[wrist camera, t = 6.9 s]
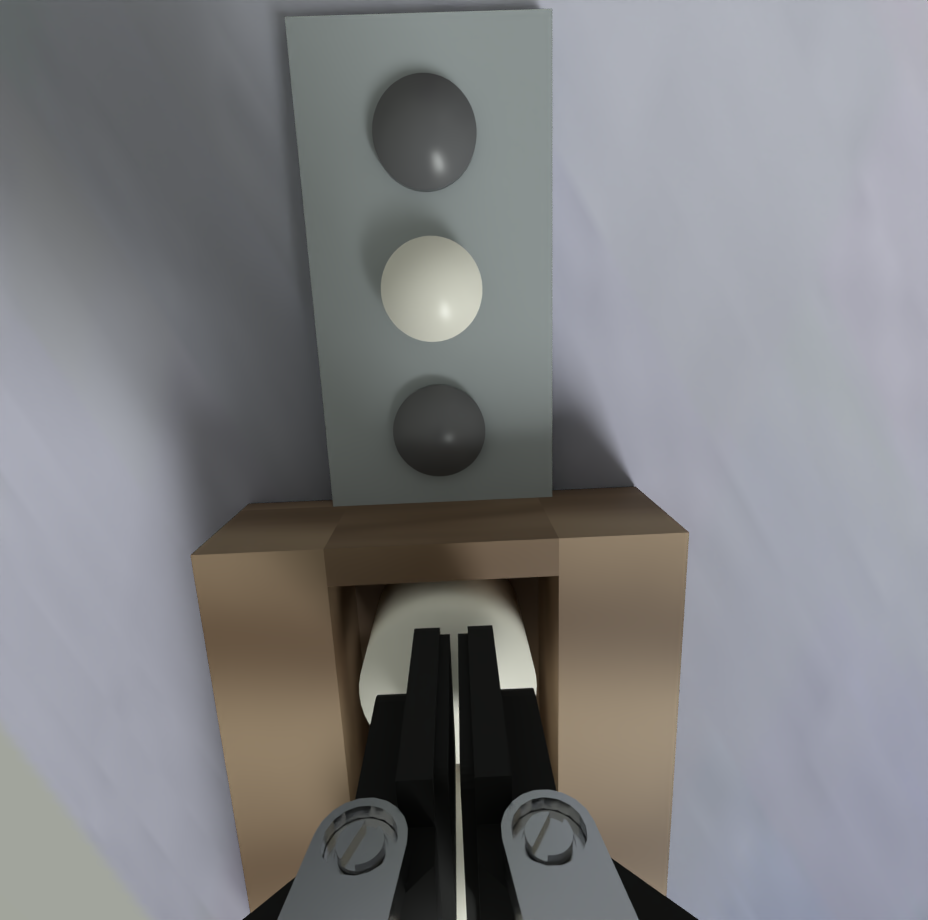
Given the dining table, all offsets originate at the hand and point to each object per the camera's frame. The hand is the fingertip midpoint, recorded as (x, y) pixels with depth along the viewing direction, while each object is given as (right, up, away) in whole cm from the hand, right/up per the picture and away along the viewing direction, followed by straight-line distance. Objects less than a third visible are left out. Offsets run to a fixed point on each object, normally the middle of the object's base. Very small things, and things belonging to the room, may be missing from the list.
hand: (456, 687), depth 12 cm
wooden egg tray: (0, -4, +6) cm, 7 cm away
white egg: (0, 0, +4) cm, 4 cm away
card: (-1, +9, +3) cm, 10 cm away
